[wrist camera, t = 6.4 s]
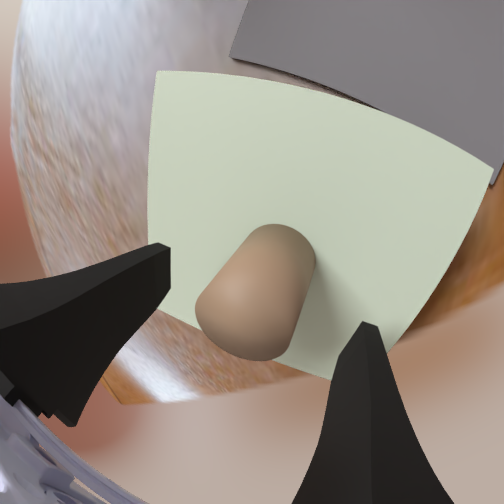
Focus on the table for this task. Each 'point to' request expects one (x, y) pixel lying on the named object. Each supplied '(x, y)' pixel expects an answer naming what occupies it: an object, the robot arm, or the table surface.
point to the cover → (299, 215)
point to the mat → (394, 59)
